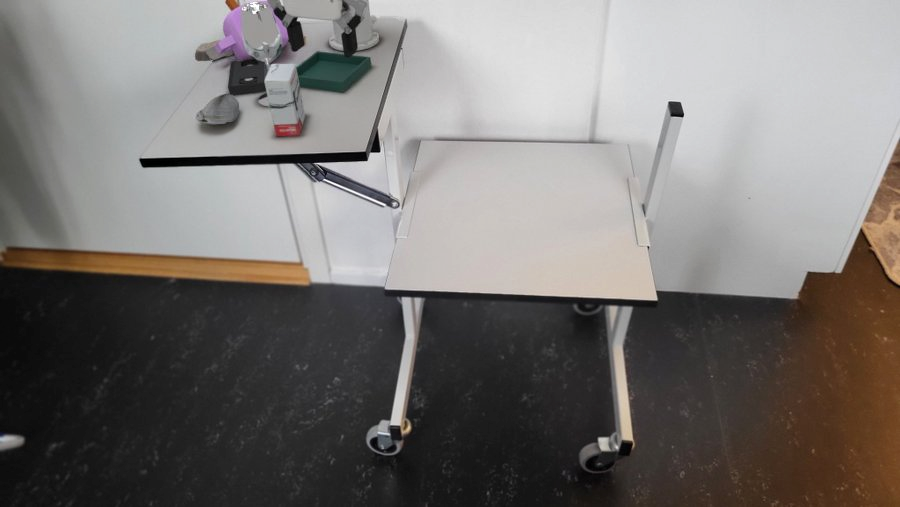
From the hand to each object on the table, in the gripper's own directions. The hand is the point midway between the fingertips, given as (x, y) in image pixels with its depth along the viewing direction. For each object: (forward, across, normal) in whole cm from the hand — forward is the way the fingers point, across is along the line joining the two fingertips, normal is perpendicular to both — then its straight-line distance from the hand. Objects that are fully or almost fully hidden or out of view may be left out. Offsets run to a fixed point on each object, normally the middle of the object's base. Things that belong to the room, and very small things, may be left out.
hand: (324, 51), depth 108 cm
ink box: (+22, +17, -11) cm, 30 cm away
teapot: (+12, +38, -38) cm, 55 cm away
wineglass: (+22, +27, -21) cm, 41 cm away
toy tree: (+14, +60, -55) cm, 83 cm away
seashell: (+22, +33, -9) cm, 41 cm away
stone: (+23, +54, -39) cm, 70 cm away
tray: (+22, +21, -35) cm, 46 cm away
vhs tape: (+22, +39, -28) cm, 52 cm away
